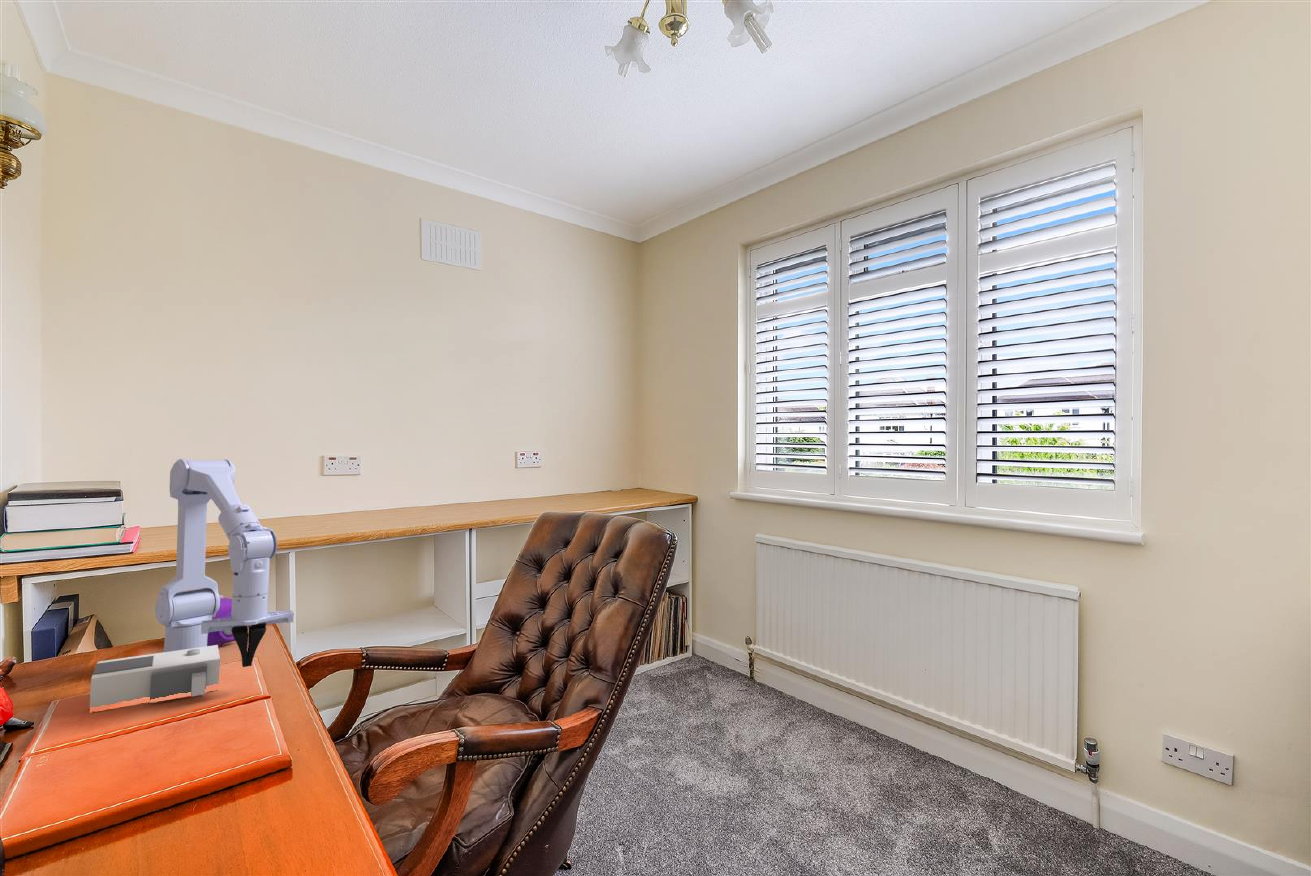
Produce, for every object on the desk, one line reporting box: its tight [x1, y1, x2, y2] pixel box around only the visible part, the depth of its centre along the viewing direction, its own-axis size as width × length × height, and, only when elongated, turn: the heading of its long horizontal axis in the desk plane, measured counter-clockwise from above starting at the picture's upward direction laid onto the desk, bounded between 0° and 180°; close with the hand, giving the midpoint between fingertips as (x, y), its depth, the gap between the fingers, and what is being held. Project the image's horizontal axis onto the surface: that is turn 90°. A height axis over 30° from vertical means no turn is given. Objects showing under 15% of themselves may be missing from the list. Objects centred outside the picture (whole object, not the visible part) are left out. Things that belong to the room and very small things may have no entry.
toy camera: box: [207, 594, 235, 646], centre depth 141 cm, size 11×14×10 cm
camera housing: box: [89, 644, 221, 708], centre depth 112 cm, size 10×18×7 cm, turn 129°
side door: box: [150, 664, 207, 700], centre depth 108 cm, size 4×8×5 cm, turn 129°
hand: (246, 665), depth 113 cm, fingers closed
